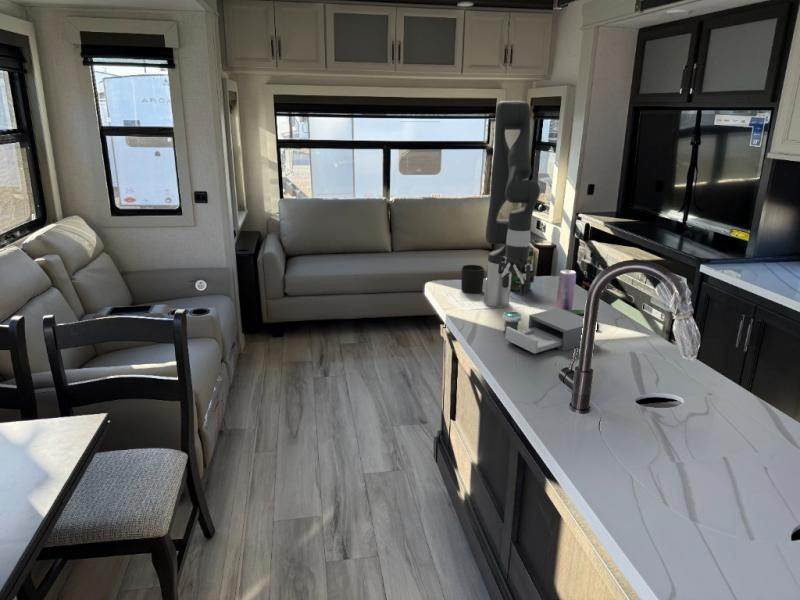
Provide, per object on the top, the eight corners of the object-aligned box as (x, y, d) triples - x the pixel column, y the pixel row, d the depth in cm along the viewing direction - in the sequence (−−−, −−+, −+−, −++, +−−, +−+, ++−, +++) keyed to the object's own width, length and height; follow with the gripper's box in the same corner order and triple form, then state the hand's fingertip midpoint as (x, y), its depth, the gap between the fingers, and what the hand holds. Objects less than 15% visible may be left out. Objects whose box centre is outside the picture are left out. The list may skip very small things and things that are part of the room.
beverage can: (573, 308, 214) (578, 271, 209) (569, 313, 209) (573, 274, 204) (558, 305, 217) (562, 268, 212) (553, 310, 212) (557, 272, 207)
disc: (499, 317, 190) (499, 313, 189) (512, 314, 193) (512, 310, 192) (511, 323, 185) (511, 318, 184) (524, 320, 188) (525, 315, 187)
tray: (505, 339, 182) (506, 327, 180) (534, 331, 188) (535, 319, 187) (534, 353, 171) (535, 340, 170) (564, 344, 178) (565, 332, 177)
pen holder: (487, 290, 234) (489, 267, 231) (474, 295, 228) (475, 272, 224) (469, 286, 240) (470, 263, 237) (455, 290, 234) (457, 267, 230)
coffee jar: (511, 292, 233) (514, 248, 227) (504, 286, 240) (507, 244, 234) (533, 291, 234) (537, 248, 228) (526, 285, 242) (529, 243, 236)
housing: (527, 334, 189) (529, 315, 187) (556, 326, 196) (558, 307, 194) (563, 351, 176) (566, 330, 174) (593, 342, 184) (596, 322, 181)
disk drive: (599, 332, 194) (587, 316, 208) (600, 324, 193) (588, 309, 207) (568, 331, 194) (559, 315, 208) (569, 324, 193) (559, 308, 207)
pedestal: (501, 331, 191) (502, 318, 189) (511, 329, 193) (512, 315, 192) (510, 336, 188) (511, 322, 186) (520, 333, 190) (521, 319, 188)
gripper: (494, 240, 184) (491, 287, 189) (525, 248, 173) (521, 298, 178) (511, 237, 188) (507, 283, 193) (542, 246, 176) (538, 294, 182)
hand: (514, 290), depth 185 cm, fingers open, 8 cm apart
